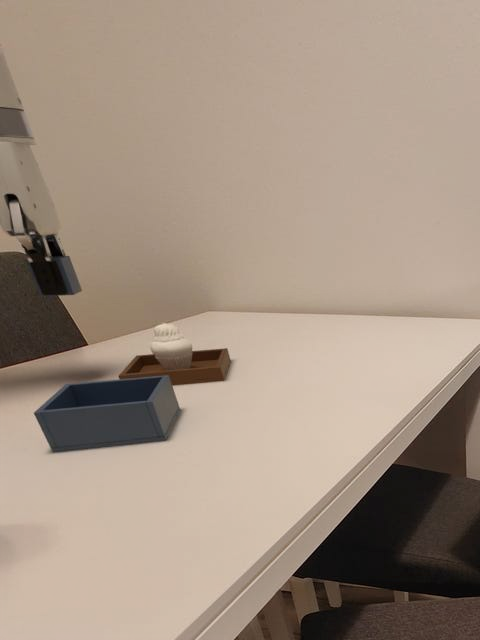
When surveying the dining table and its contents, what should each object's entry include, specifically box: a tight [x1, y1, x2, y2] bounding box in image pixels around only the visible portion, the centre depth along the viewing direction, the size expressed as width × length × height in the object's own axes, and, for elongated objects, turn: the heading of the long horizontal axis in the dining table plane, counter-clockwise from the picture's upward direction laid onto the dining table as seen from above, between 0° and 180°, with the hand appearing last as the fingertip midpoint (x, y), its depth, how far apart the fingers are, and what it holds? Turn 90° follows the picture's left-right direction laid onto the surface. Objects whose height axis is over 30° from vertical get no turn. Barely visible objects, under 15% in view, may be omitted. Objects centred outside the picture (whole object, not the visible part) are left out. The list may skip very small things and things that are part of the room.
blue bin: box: [33, 375, 181, 454], centre depth 72 cm, size 12×12×5 cm
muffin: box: [149, 322, 193, 370], centre depth 92 cm, size 6×6×7 cm
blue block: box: [25, 255, 83, 297], centre depth 86 cm, size 4×4×4 cm
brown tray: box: [118, 347, 232, 386], centre depth 94 cm, size 15×14×2 cm
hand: (60, 290), depth 87 cm, fingers closed on blue block, 4 cm apart
